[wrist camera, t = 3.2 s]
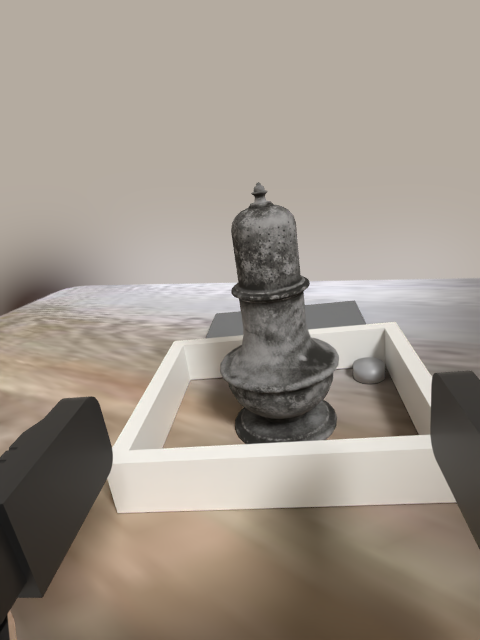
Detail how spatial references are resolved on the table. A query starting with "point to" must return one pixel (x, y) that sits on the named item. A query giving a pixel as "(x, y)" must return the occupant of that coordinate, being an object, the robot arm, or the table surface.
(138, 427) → the frame
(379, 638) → the table surface
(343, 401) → the table surface
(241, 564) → the table surface
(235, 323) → the rubber mat
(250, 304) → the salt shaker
